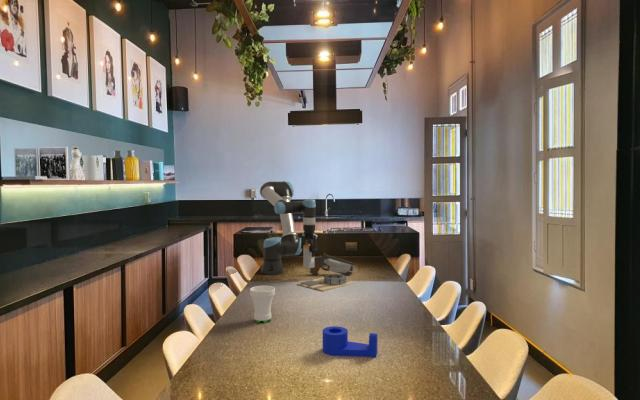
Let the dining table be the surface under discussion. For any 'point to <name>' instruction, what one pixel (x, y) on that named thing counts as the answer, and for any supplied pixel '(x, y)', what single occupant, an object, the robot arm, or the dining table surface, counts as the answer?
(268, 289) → the cup
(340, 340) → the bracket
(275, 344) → the dining table surface
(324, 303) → the dining table surface
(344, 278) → the grey octagonal ring
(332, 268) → the gun
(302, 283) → the pad
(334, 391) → the dining table surface
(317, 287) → the board
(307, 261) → the block
